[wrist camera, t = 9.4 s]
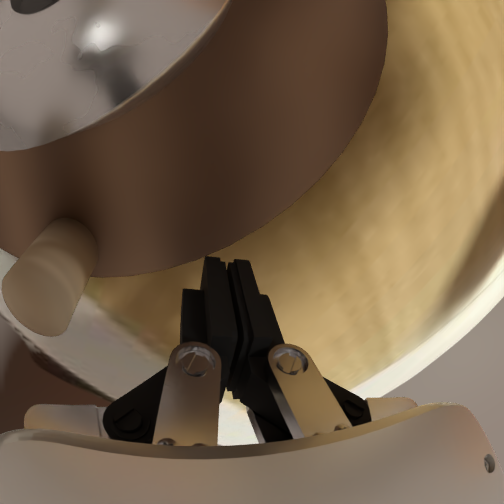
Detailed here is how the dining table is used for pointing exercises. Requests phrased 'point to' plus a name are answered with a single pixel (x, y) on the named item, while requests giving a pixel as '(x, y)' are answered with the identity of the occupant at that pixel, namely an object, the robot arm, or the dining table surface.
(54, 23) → the steel cover
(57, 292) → the lazy susan
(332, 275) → the dining table surface
